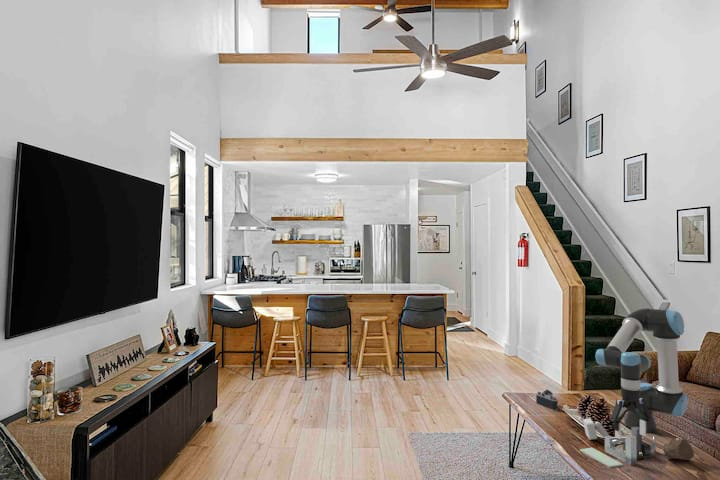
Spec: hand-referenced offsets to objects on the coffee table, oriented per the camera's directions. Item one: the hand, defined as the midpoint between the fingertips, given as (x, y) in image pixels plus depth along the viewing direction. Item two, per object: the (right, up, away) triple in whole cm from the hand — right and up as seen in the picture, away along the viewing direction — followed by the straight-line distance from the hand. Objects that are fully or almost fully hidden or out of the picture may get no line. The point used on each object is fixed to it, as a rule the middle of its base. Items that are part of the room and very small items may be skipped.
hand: (630, 436), depth 210 cm
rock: (+23, -12, +4) cm, 26 cm away
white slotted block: (-1, -12, +6) cm, 13 cm away
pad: (-11, -12, +5) cm, 17 cm away
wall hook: (0, -13, +27) cm, 30 cm away
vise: (+7, -12, +9) cm, 17 cm away
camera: (-5, -14, +77) cm, 78 cm away
